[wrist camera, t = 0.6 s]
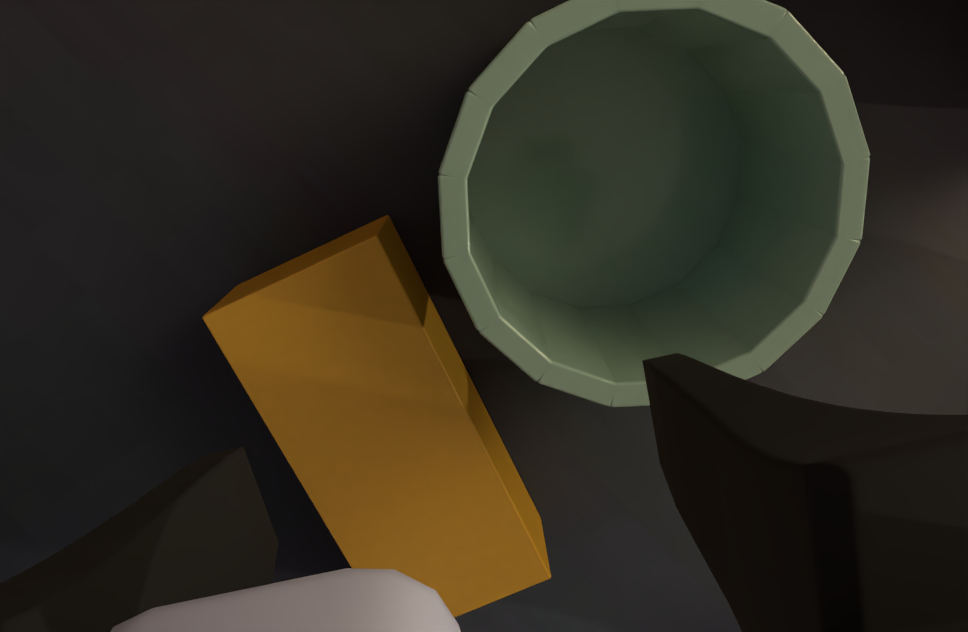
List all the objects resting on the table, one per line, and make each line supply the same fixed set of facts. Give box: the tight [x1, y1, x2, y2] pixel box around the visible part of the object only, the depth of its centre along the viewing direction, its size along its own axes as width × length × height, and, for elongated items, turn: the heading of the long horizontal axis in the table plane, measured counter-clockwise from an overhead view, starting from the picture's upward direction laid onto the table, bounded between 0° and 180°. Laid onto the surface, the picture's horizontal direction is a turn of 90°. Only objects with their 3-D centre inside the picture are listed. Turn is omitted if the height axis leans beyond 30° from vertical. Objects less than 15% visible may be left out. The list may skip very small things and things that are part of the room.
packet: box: [202, 215, 551, 617], centre depth 23 cm, size 5×11×3 cm, turn 25°
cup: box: [438, 0, 870, 407], centre depth 19 cm, size 9×9×6 cm
